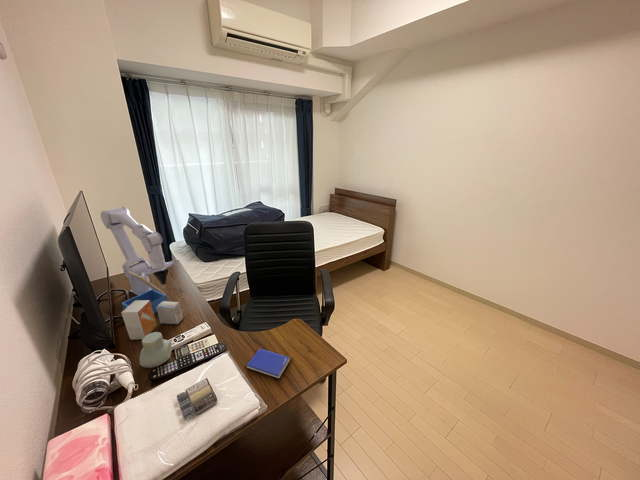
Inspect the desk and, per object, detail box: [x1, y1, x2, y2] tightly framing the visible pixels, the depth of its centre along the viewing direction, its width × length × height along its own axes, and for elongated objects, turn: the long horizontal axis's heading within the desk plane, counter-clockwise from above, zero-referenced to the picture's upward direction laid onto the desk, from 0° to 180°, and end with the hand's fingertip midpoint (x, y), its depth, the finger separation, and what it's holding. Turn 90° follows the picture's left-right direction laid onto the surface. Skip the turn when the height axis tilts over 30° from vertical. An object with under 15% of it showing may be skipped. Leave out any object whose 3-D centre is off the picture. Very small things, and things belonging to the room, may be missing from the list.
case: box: [120, 289, 169, 314], centre depth 116 cm, size 14×12×6 cm
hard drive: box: [246, 348, 291, 379], centre depth 88 cm, size 2×8×12 cm
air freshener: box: [138, 331, 173, 369], centre depth 88 cm, size 11×8×10 cm
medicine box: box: [156, 301, 184, 325], centre depth 108 cm, size 8×4×9 cm, turn 84°
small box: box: [121, 300, 158, 341], centre depth 101 cm, size 8×6×13 cm
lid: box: [129, 271, 167, 296], centre depth 115 cm, size 14×12×1 cm
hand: (163, 283), depth 122 cm, fingers closed
